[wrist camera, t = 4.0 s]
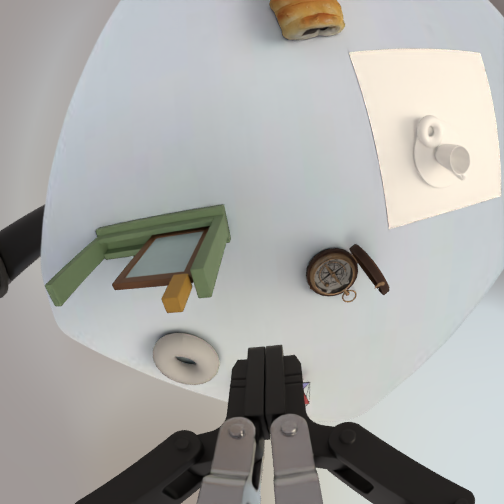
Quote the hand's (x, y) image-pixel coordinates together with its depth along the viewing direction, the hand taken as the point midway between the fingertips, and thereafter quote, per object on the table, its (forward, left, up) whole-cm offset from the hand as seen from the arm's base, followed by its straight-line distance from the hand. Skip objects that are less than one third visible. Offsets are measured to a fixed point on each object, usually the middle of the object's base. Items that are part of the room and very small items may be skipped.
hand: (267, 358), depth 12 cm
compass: (+8, -8, -19) cm, 23 cm away
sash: (-9, 0, -18) cm, 20 cm away
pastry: (+7, +22, -19) cm, 30 cm away
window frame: (-12, 0, -19) cm, 23 cm away
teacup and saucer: (+22, +8, -19) cm, 31 cm away
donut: (-14, -19, -19) cm, 31 cm away
